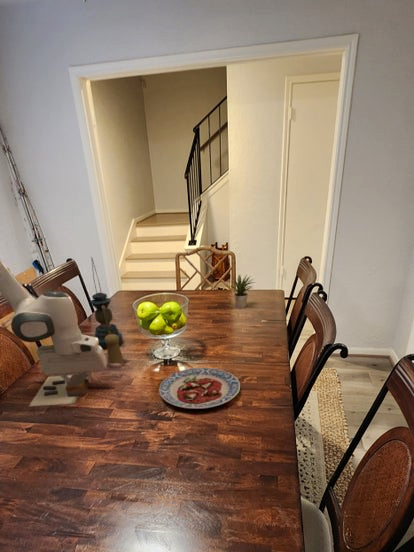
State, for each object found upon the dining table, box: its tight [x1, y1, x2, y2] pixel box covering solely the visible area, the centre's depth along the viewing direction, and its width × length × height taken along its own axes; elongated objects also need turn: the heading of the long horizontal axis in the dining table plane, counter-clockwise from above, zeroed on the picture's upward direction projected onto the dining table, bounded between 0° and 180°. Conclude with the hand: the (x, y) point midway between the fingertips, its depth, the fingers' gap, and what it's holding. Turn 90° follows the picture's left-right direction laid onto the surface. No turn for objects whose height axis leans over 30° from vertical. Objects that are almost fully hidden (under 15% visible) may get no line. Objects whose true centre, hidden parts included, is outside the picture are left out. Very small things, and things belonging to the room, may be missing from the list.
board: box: [28, 373, 79, 407], centre depth 123 cm, size 14×20×1 cm
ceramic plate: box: [158, 367, 241, 410], centre depth 118 cm, size 26×26×3 cm
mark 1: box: [43, 386, 56, 390], centre depth 122 cm, size 4×1×1 cm, turn 83°
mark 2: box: [44, 390, 58, 396], centre depth 119 cm, size 4×1×1 cm, turn 103°
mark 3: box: [52, 380, 65, 385], centre depth 125 cm, size 4×1×1 cm, turn 103°
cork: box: [105, 334, 125, 365], centre depth 138 cm, size 6×6×11 cm
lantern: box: [90, 256, 123, 350], centre depth 147 cm, size 14×12×35 cm
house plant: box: [229, 274, 256, 309], centre depth 187 cm, size 14×14×16 cm
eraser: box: [65, 372, 93, 397], centre depth 122 cm, size 5×12×4 cm, turn 3°
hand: (79, 383), depth 122 cm, fingers closed on eraser, 5 cm apart
